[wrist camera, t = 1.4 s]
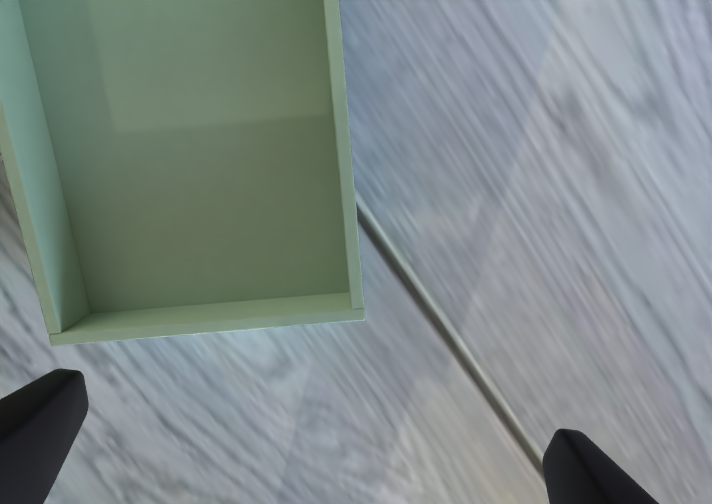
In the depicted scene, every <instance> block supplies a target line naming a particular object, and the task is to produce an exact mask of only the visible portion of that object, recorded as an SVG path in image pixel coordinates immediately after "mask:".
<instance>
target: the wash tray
mask: <svg viewBox="0 0 712 504" xmlns="http://www.w3.org/2000/svg"><path fill="white" fill-rule="evenodd" d="M0 151H1V155H2V159H3V162H4V166H5V170H6V174H7V178H8V182H9V186H10V189H11V193H12V197H13V201H14V205H15V209H16V212H17V216H18V220H19V224H20V228H21V232H22V236H23V239H24V243H25V247H26V251H27V255H28V259H29V263H30V266H31V270H32V274H33V278H34V282H35V286H36V289H37V293H38V297H39V301H40V305H41V309H42V313H43V316H44V320H45V324H46V328H47V332H48V334H49V339H50V343H51V346H60V345H72V344H84V343H96V342H108V341H120V340H132V339H144V338H157V337H169V336H181V335H193V334H205V333H217V332H229V331H241V330H253V329H265V328H277V327H289V326H301V325H313V324H325V323H337V322H349V321H362V320H365V308H364V295H363V283H362V271H361V259H360V247H359V235H358V222H357V210H356V198H355V186H354V174H353V162H352V149H351V137H350V125H349V113H348V101H347V89H346V76H345V64H344V52H343V40H342V28H341V16H340V3H339V0H0Z"/></svg>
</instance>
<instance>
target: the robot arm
mask: <svg viewBox="0 0 712 504" xmlns="http://www.w3.org/2000/svg"><path fill="white" fill-rule="evenodd" d="M88 405H89V403H88V396H87V391H86V385H85V380H84V376H83V374H82V373H81V372H80V371H77V370H69V369H56V370H53V371H51V372H50V373H48V374H46V375H44V376H42V377H40V378H39V379H37V380H35V381H33V382H31V383H30V384H28V385H26V386H24V387H22V388H21V389H19V390H17V391H15V392H13V393H11V394H10V395H8V396H6V397H4V398H2V399H1V400H0V504H43V503H44V501H45V499H46V498H47V496H48V494H49V492H50V490H51V488H52V486H53V484H54V482H55V480H56V478H57V475H58V473H59V471H60V469H61V467H62V465H63V463H64V461H65V459H66V457H67V455H68V453H69V450H70V448H71V446H72V444H73V442H74V440H75V438H76V436H77V434H78V432H79V430H80V427H81V425H82V423H83V421H84V419H85V417H86V415H87V411H88ZM542 465H543V472H544V477H545V482H546V487H547V493H548V498H549V503H550V504H659V503H658V502H657V501H656V500H654V499H653V498H652V497H651V496H650V495H649V494H648V493H647V492H646V491H645V490H644V489H643V488H642V487H641V486H639V485H638V484H637V483H636V482H635V481H634V480H633V479H632V478H631V477H630V476H629V475H628V474H627V473H626V472H624V471H623V470H622V469H621V468H620V467H619V466H618V465H617V464H616V463H615V462H614V461H613V460H612V459H610V458H609V457H608V456H607V455H606V454H605V453H604V452H603V451H602V450H601V449H600V448H599V447H598V446H597V445H595V444H594V443H593V442H592V441H591V440H590V439H589V438H588V437H587V436H586V435H585V434H583V433H582V432H580V431H578V430H570V429H558V430H557V431H556V432H555V434H554V436H553V438H552V440H551V442H550V444H549V446H548V448H547V450H546V452H545V454H544V456H543V463H542Z"/></svg>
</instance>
